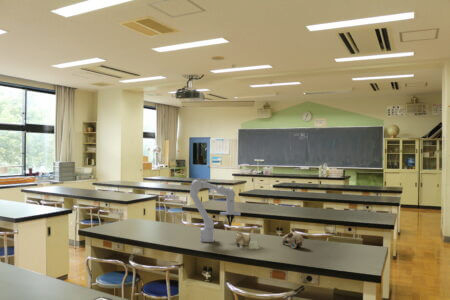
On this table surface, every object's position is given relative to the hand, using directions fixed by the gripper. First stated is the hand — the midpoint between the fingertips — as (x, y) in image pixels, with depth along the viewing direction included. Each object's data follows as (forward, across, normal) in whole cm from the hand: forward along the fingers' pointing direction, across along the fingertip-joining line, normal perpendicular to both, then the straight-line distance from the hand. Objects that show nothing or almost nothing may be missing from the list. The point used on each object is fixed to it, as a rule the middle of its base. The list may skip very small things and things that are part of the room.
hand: (230, 225), depth 247 cm
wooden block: (+5, +4, -12) cm, 14 cm away
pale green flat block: (+10, +13, -12) cm, 20 cm away
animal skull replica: (+11, +42, -15) cm, 46 cm away
